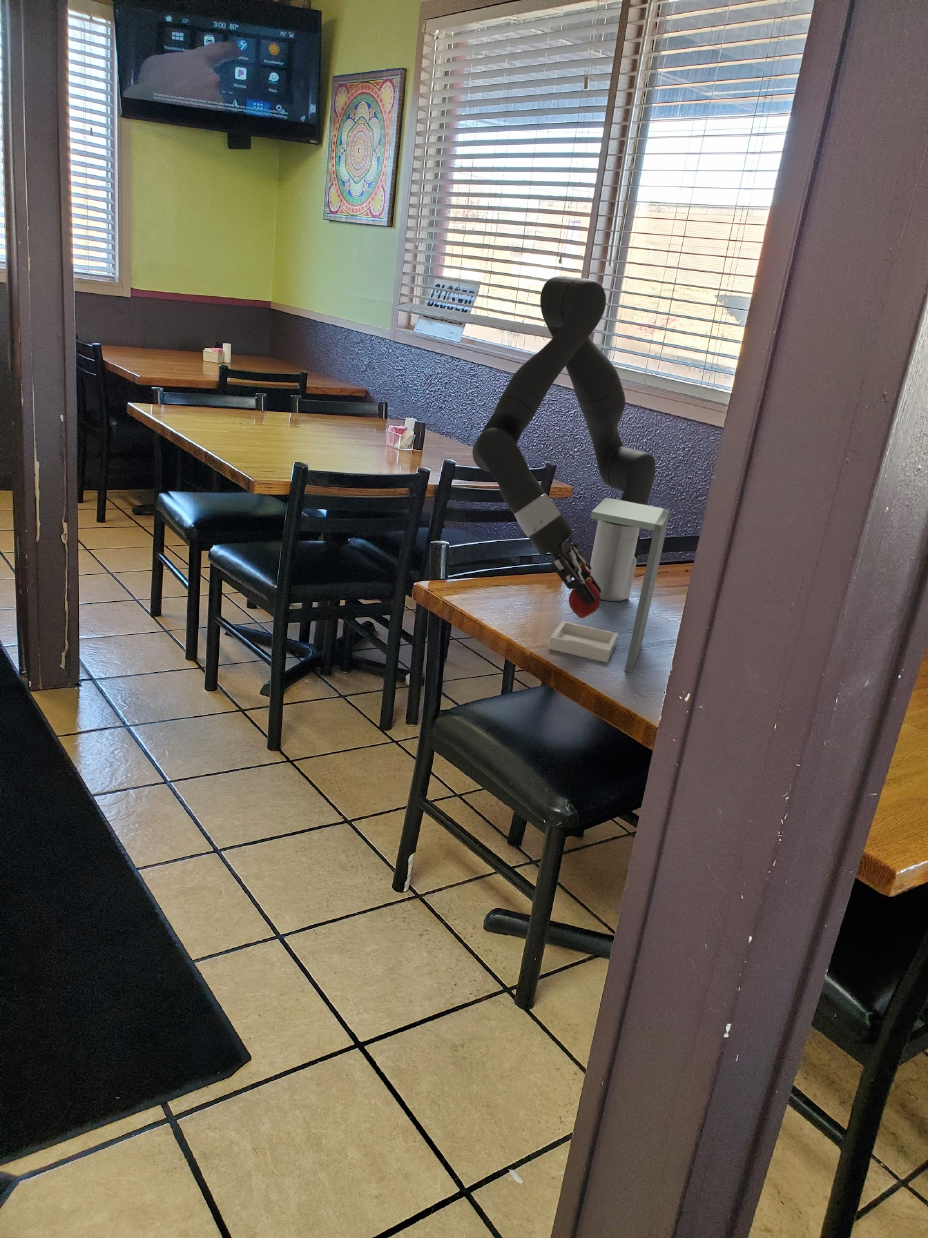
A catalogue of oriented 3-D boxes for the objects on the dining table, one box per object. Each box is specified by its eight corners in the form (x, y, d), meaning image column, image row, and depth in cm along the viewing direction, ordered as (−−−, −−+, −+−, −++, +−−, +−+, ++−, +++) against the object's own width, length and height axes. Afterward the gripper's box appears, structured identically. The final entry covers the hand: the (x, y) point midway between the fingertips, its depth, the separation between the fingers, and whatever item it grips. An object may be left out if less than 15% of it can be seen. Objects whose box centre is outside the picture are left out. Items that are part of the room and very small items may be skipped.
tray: (548, 648, 172) (550, 637, 171) (560, 631, 182) (562, 620, 181) (607, 662, 169) (609, 650, 168) (616, 644, 179) (618, 633, 178)
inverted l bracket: (564, 657, 169) (591, 511, 160) (580, 632, 183) (605, 497, 175) (631, 672, 166) (662, 525, 157) (641, 646, 180) (670, 509, 172)
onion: (588, 626, 170) (596, 584, 168) (560, 616, 173) (568, 576, 170) (601, 619, 175) (609, 579, 172) (573, 610, 178) (581, 570, 175)
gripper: (551, 519, 163) (605, 598, 164) (567, 506, 176) (617, 579, 177) (518, 542, 166) (570, 619, 167) (536, 527, 179) (584, 599, 180)
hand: (594, 598), depth 172 cm, fingers closed on onion, 6 cm apart
